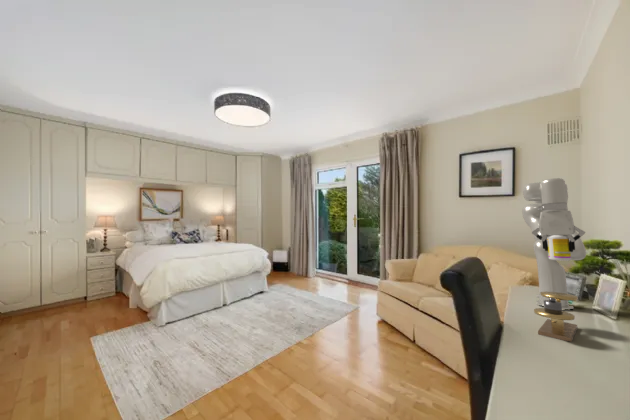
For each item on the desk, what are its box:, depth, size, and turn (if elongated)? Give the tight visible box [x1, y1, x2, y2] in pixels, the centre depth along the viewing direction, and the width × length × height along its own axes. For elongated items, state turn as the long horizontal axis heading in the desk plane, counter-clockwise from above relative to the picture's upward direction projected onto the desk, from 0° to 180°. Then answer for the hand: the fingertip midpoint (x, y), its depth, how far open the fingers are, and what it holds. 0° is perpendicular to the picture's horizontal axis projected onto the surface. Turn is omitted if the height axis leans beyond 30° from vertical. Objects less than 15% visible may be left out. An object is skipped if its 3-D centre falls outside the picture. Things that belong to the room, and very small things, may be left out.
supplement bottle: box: [547, 235, 572, 262], centre depth 101 cm, size 7×7×13 cm
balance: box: [533, 291, 579, 343], centre depth 88 cm, size 23×10×12 cm, turn 129°
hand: (558, 250), depth 101 cm, fingers closed on supplement bottle, 6 cm apart
